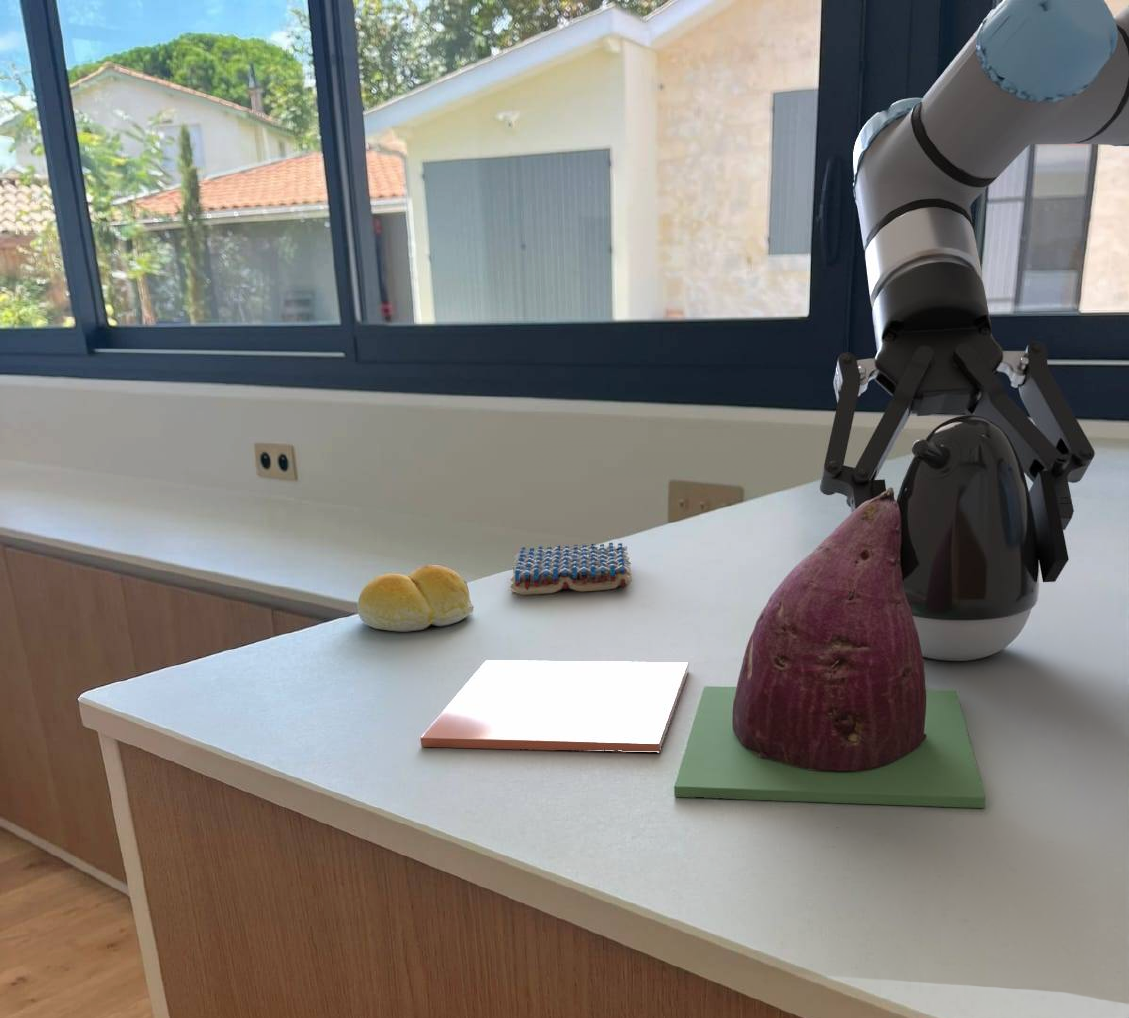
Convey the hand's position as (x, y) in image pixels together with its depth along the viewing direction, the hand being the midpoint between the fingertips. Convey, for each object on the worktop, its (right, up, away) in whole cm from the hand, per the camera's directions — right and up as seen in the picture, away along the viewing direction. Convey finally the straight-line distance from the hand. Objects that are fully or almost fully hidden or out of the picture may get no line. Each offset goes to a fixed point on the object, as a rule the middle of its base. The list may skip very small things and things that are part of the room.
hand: (970, 575), depth 72 cm
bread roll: (-37, -1, +20) cm, 42 cm away
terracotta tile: (-26, -8, 0) cm, 27 cm away
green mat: (-11, -11, -8) cm, 17 cm away
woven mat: (-25, +4, +29) cm, 38 cm away
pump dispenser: (0, -4, +5) cm, 7 cm away
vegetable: (-11, -10, -8) cm, 17 cm away
